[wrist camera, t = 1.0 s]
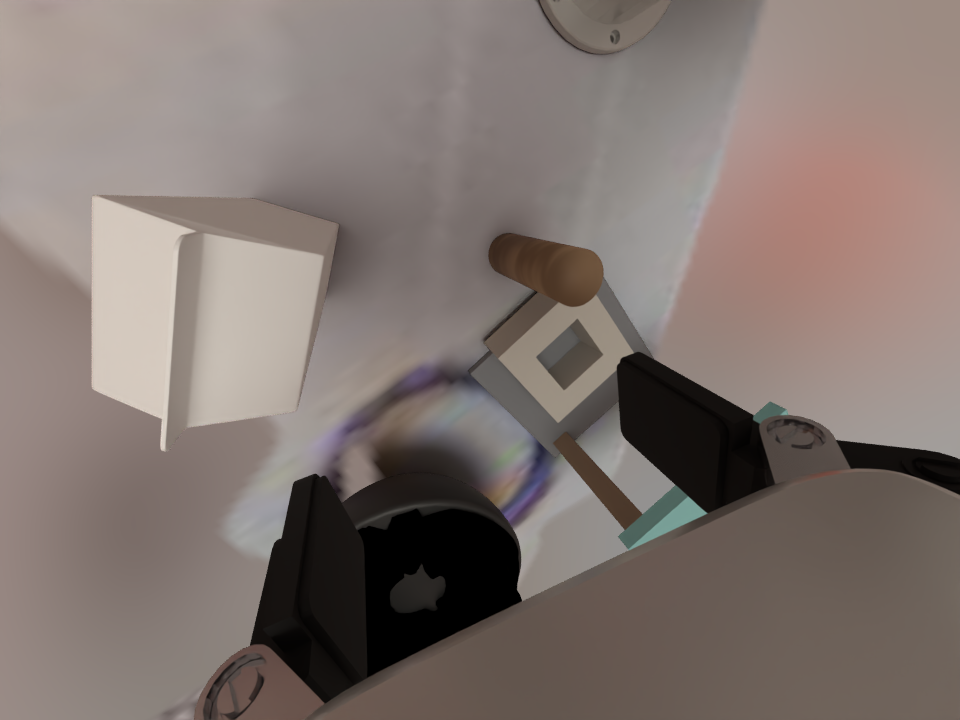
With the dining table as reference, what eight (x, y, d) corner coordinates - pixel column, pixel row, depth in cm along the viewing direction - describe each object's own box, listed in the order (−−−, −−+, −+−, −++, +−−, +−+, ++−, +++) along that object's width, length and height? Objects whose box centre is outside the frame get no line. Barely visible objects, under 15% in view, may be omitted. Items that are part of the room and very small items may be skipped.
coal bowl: (498, 539, 47) (576, 720, 31) (335, 602, 43) (327, 851, 27) (472, 406, 39) (563, 559, 22) (267, 469, 35) (191, 714, 18)
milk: (339, 223, 29) (325, 269, 10) (325, 299, 31) (290, 465, 11) (249, 196, 27) (-10, 185, 7) (239, 280, 28) (8, 450, 9)
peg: (510, 224, 33) (585, 235, 22) (533, 255, 35) (612, 279, 24) (480, 252, 33) (541, 277, 23) (504, 282, 35) (571, 318, 24)
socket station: (581, 246, 36) (745, 280, 21) (654, 365, 44) (808, 448, 30) (458, 361, 36) (533, 473, 21) (554, 455, 45) (655, 582, 30)
